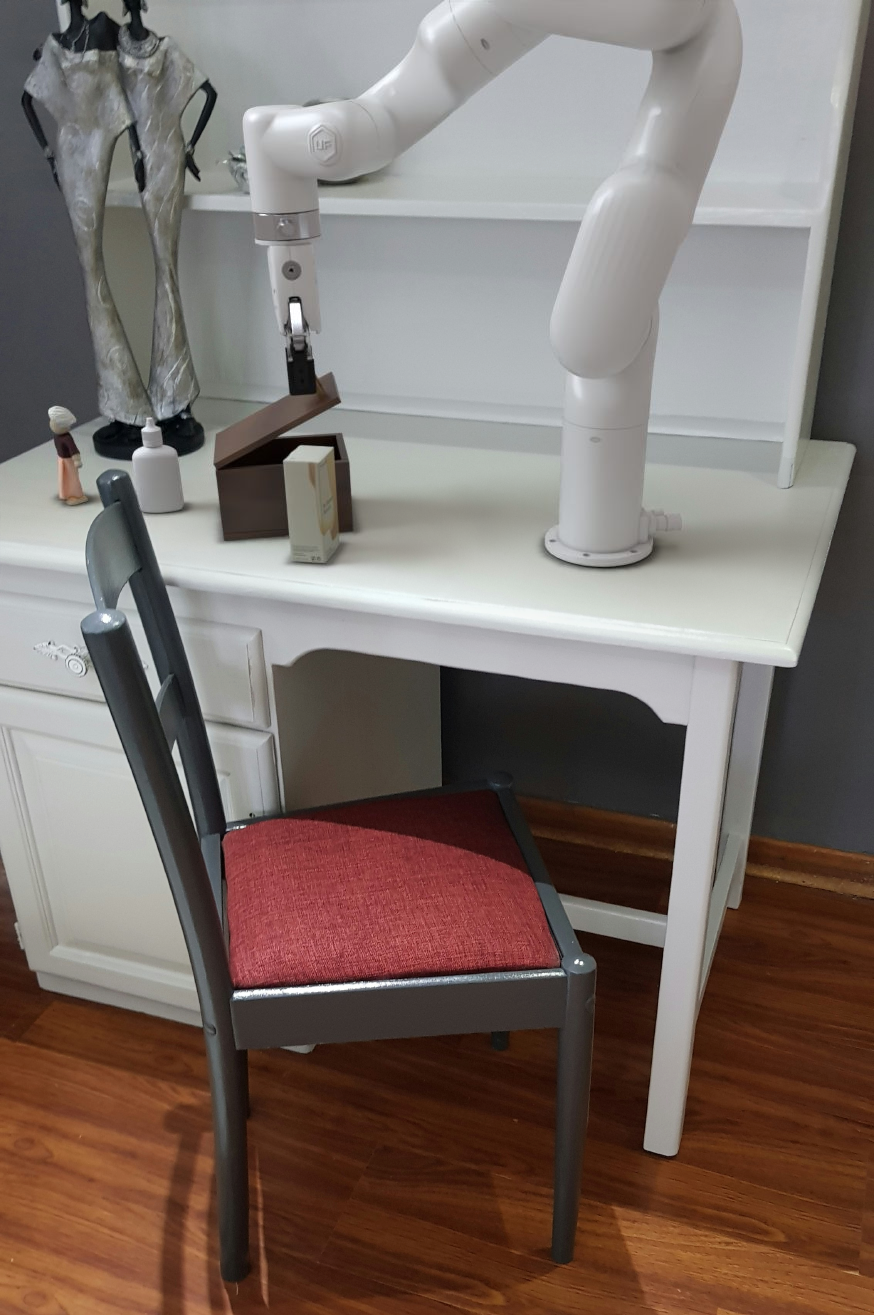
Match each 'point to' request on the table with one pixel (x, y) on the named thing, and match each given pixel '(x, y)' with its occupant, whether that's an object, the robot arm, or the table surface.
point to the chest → (274, 488)
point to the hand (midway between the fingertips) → (302, 385)
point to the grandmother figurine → (66, 456)
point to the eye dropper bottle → (157, 473)
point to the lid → (274, 421)
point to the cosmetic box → (311, 503)
